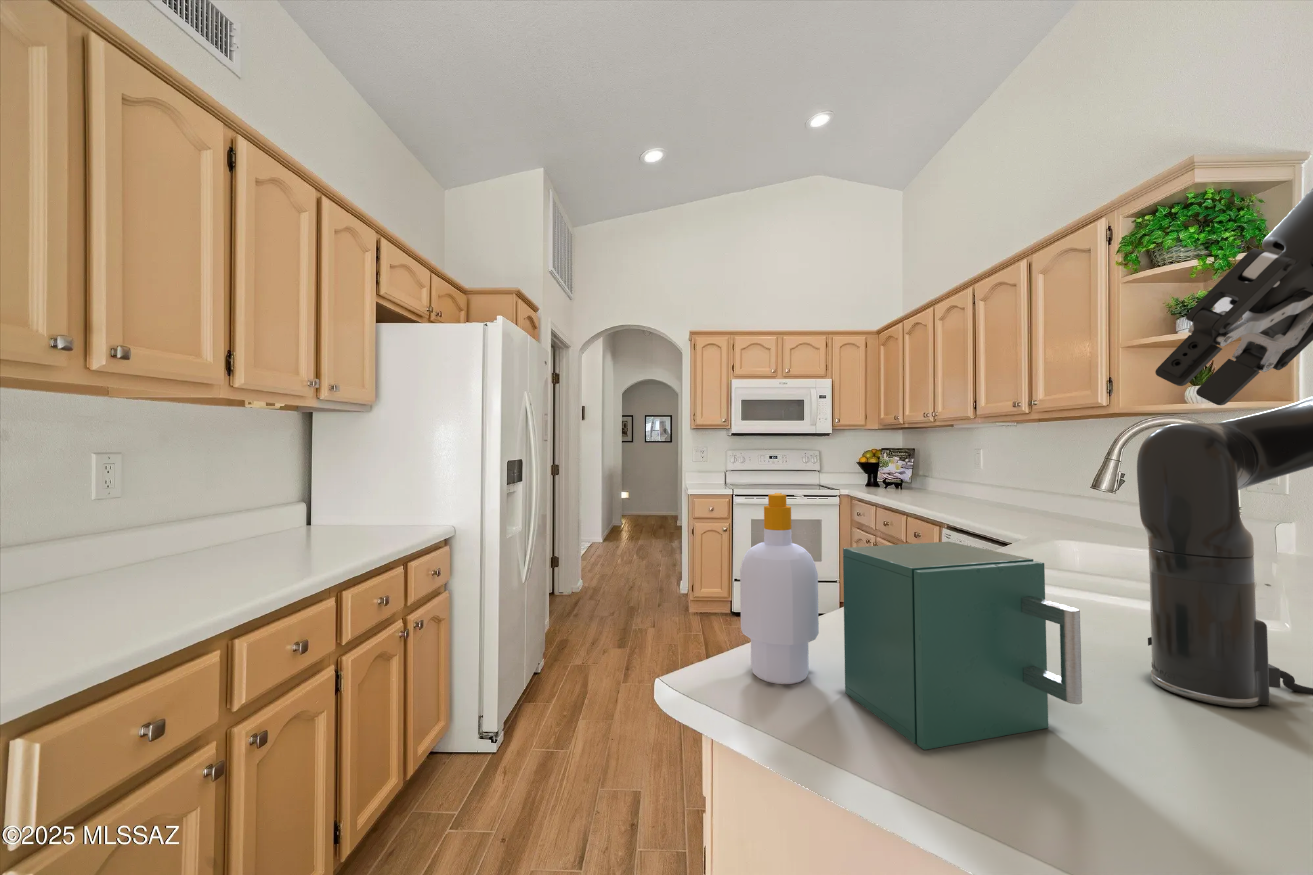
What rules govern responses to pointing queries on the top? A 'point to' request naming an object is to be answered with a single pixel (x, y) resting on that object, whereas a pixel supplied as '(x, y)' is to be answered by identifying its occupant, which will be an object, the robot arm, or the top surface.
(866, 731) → the top surface
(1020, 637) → the fridge door
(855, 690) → the box
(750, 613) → the soap bottle
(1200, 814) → the top surface
